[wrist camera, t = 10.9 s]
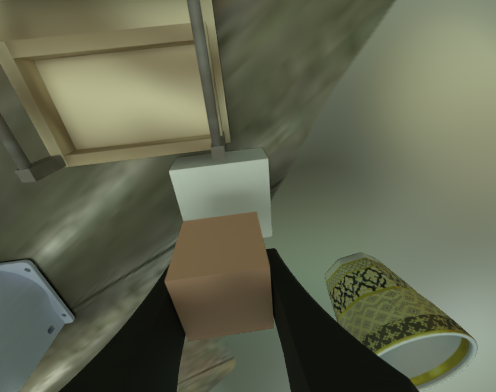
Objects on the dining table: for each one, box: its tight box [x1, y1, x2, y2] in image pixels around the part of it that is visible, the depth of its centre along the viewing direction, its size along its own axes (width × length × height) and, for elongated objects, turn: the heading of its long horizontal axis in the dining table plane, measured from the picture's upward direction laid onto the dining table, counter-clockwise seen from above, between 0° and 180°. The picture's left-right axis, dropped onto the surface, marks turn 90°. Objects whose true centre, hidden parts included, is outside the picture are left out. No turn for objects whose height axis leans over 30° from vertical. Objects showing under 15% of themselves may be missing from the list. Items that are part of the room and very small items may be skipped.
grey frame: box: [0, 0, 231, 183], centre depth 12 cm, size 13×13×5 cm
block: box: [165, 211, 274, 341], centre depth 11 cm, size 4×4×4 cm
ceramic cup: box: [325, 253, 478, 392], centre depth 22 cm, size 13×10×10 cm
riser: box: [169, 148, 272, 238], centre depth 18 cm, size 7×7×3 cm
